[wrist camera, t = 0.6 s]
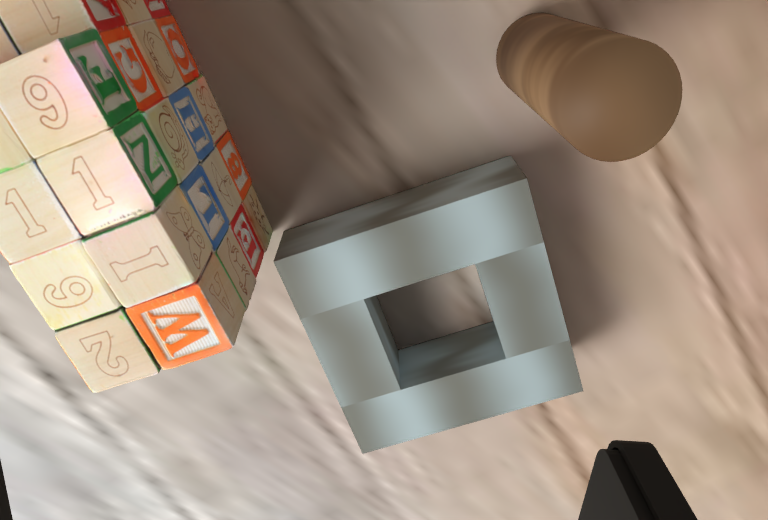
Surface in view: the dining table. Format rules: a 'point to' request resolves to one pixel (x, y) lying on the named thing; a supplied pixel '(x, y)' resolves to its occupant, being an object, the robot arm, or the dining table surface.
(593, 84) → the dowel
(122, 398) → the dining table surface
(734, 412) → the dining table surface
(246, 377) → the dining table surface
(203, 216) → the stack of blocks
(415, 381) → the block with square hole
